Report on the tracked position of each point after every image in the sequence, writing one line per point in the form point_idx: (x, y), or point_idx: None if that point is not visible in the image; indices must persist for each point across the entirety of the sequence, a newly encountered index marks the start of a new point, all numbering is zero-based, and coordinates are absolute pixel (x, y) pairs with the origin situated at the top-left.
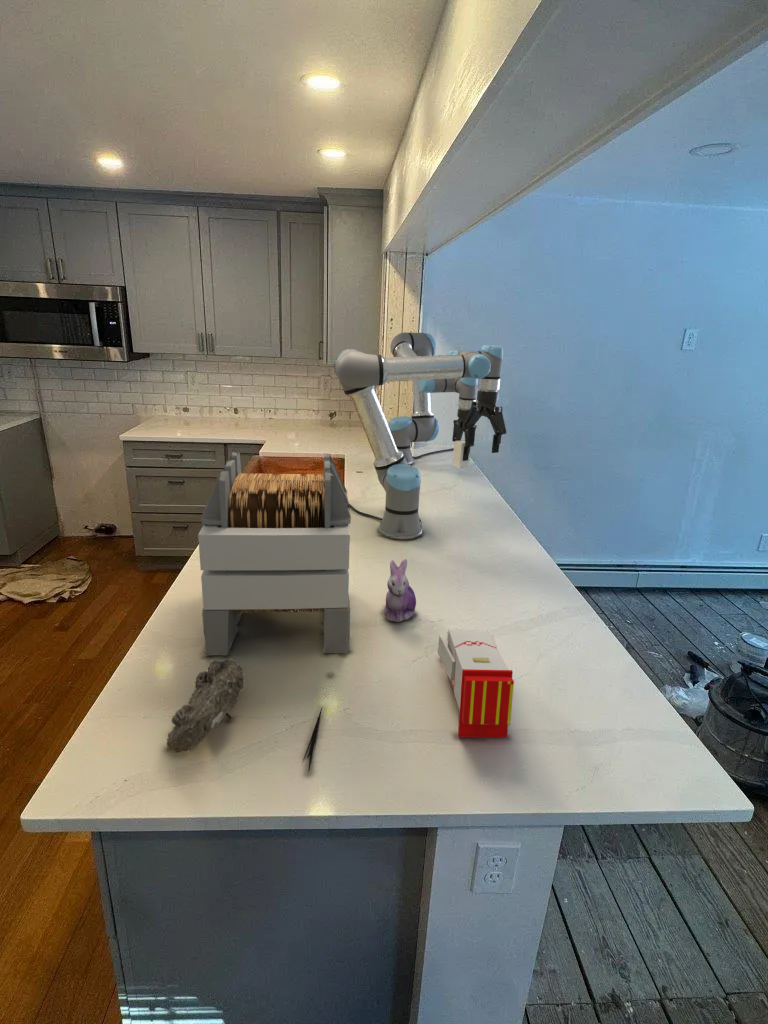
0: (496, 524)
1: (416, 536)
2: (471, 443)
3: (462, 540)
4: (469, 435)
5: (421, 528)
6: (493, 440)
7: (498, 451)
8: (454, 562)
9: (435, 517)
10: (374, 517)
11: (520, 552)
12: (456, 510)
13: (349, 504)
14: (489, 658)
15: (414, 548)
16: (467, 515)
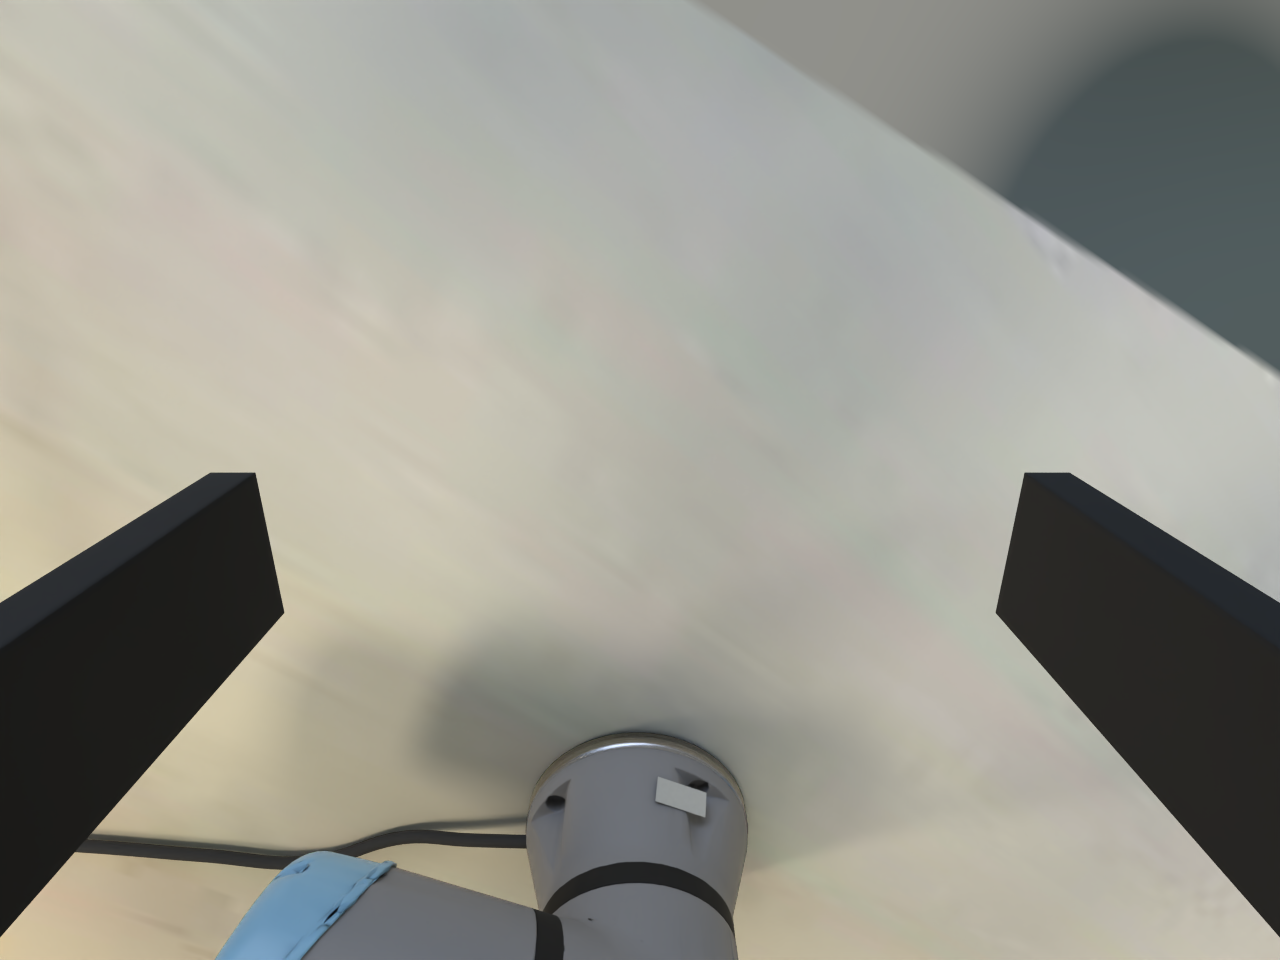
0: (821, 271)
1: (744, 808)
2: (255, 542)
3: (888, 631)
4: (153, 743)
5: (720, 788)
6: (1192, 807)
7: (1080, 482)
8: (1046, 804)
9: (525, 552)
10: (422, 842)
11: (1206, 471)
12: (462, 342)
13: (192, 860)
14: None
15: (828, 856)
16: (582, 339)
